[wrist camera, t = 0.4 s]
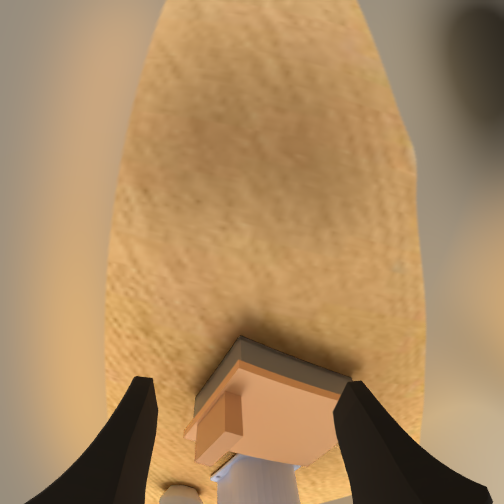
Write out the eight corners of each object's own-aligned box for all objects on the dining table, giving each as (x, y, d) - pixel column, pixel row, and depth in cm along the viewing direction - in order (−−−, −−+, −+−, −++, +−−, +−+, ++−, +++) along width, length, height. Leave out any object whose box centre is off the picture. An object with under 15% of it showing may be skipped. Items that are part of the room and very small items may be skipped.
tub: (299, 429, 28) (304, 456, 24) (195, 398, 25) (192, 429, 22) (351, 377, 25) (363, 406, 22) (240, 335, 23) (241, 367, 20)
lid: (304, 453, 25) (313, 496, 21) (185, 422, 23) (179, 473, 18) (368, 396, 23) (388, 442, 18) (238, 351, 20) (240, 409, 15)
